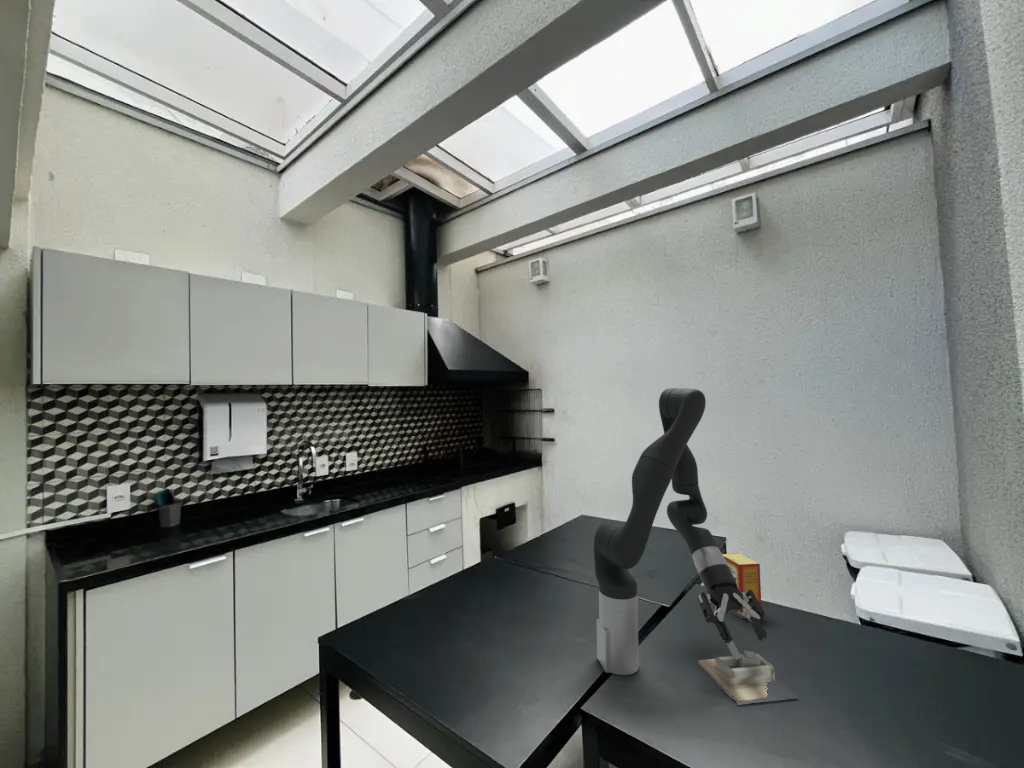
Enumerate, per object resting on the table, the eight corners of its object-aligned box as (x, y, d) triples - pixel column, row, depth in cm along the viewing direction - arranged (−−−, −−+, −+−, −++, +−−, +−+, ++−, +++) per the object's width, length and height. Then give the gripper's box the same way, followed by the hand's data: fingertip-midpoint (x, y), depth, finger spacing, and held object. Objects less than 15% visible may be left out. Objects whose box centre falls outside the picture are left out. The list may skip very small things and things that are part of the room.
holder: (738, 705, 85) (737, 685, 85) (698, 664, 99) (697, 647, 99) (797, 699, 87) (796, 679, 87) (750, 659, 101) (749, 642, 101)
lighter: (757, 674, 94) (756, 638, 94) (761, 679, 92) (760, 642, 93) (725, 672, 94) (724, 636, 95) (728, 677, 93) (727, 640, 93)
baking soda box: (721, 604, 130) (719, 552, 131) (740, 602, 131) (738, 551, 132) (741, 619, 121) (739, 563, 122) (761, 617, 121) (759, 562, 122)
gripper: (693, 563, 101) (725, 636, 89) (745, 561, 103) (783, 632, 91) (682, 577, 106) (710, 648, 94) (731, 574, 108) (766, 644, 96)
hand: (746, 640), depth 92 cm, fingers open, 8 cm apart
